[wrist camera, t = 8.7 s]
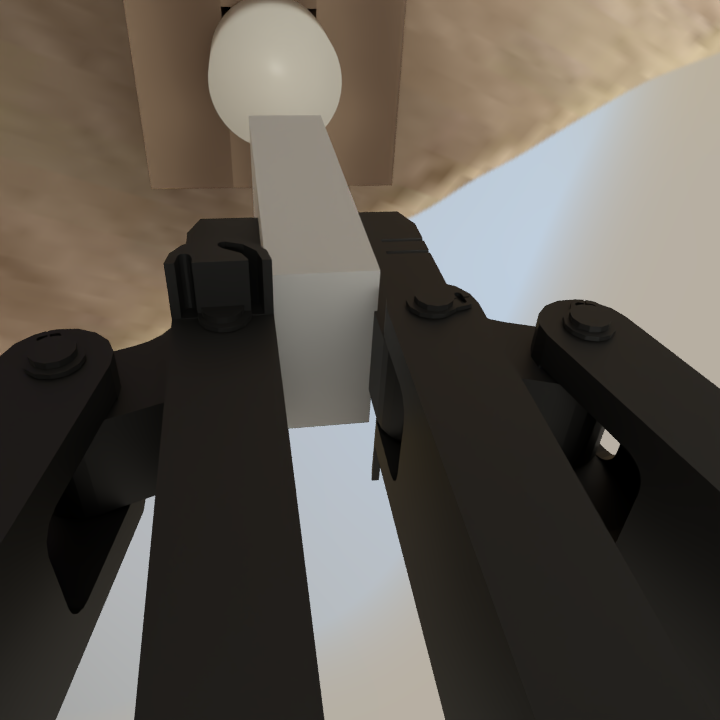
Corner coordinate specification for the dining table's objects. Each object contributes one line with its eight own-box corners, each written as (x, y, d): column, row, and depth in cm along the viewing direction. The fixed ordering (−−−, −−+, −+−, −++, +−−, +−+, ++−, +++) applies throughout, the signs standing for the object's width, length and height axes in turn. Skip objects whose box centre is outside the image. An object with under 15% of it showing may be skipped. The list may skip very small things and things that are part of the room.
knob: (217, 84, 30) (214, 149, 23) (208, -29, 27) (201, 7, 20) (315, 85, 30) (339, 148, 23) (315, -26, 28) (343, 10, 21)
